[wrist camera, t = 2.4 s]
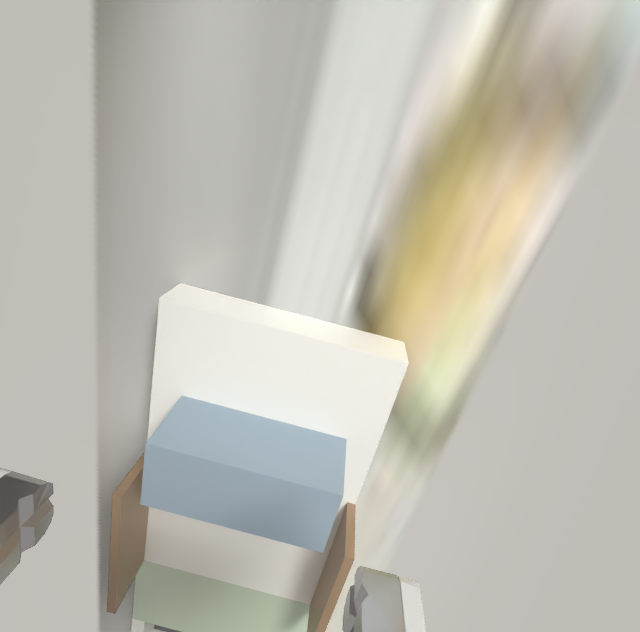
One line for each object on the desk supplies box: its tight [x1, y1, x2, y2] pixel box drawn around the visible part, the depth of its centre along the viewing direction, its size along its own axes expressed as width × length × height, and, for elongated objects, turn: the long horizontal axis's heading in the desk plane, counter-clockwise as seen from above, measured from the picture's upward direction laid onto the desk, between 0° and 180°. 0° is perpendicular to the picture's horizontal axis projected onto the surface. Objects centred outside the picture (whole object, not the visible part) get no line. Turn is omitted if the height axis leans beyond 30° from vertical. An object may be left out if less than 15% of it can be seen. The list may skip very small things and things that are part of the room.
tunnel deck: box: [107, 283, 409, 632], centre depth 26 cm, size 33×13×6 cm, turn 166°
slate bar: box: [140, 396, 347, 553], centre depth 21 cm, size 4×10×4 cm, turn 76°
